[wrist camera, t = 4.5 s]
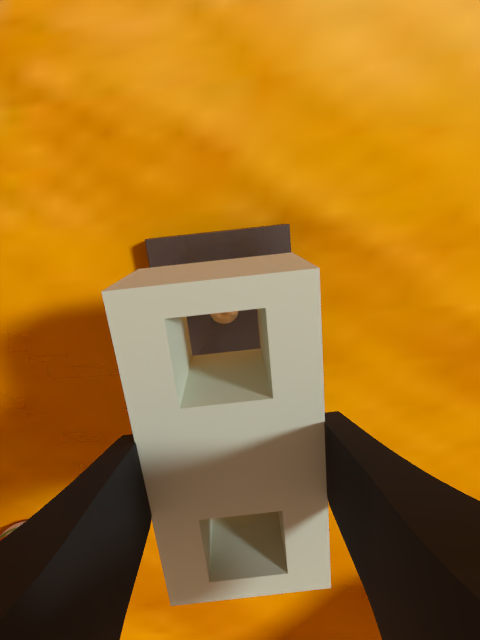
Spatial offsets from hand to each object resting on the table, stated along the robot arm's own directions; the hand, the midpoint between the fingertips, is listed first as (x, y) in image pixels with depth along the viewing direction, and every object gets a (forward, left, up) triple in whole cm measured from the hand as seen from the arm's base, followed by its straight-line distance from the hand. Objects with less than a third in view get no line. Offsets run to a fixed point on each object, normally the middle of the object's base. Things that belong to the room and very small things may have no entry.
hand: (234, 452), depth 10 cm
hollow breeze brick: (0, 0, -3) cm, 3 cm away
